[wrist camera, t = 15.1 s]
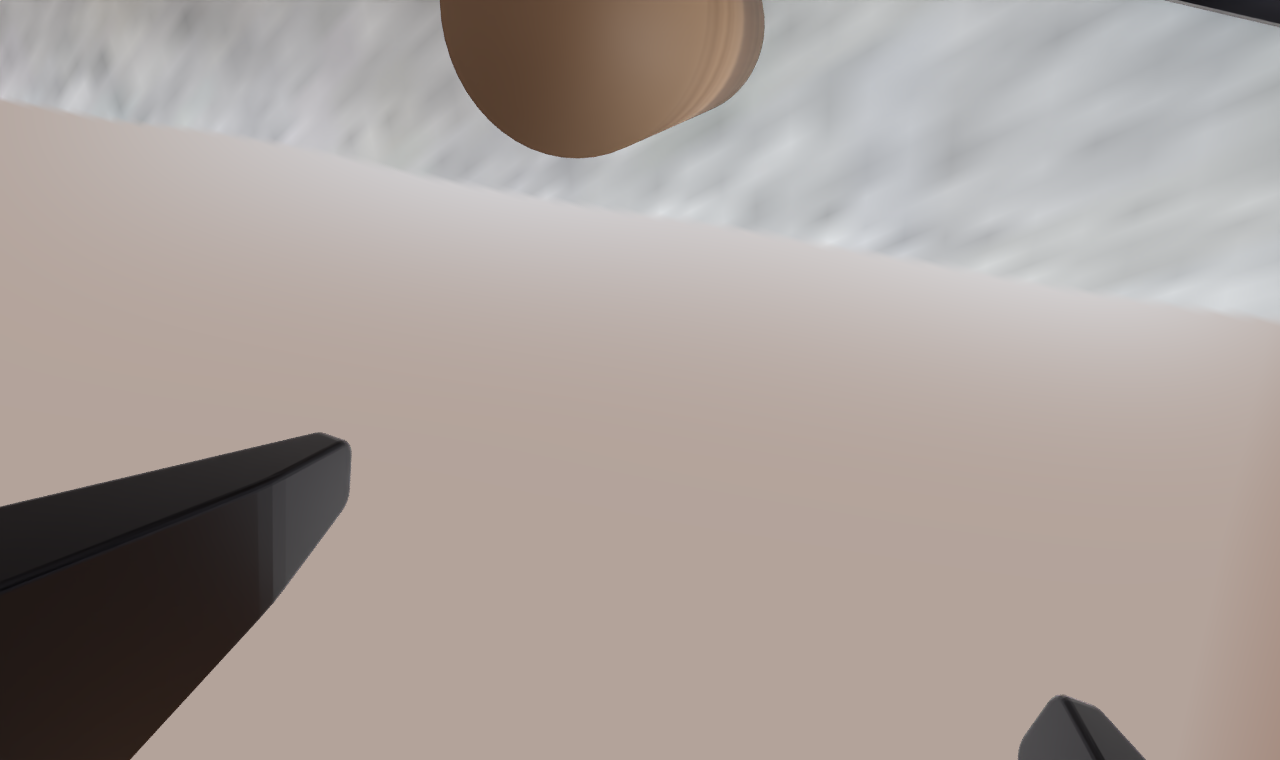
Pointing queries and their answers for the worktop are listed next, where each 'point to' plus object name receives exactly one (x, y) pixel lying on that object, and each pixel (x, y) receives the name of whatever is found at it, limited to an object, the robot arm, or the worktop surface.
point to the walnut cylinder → (599, 65)
